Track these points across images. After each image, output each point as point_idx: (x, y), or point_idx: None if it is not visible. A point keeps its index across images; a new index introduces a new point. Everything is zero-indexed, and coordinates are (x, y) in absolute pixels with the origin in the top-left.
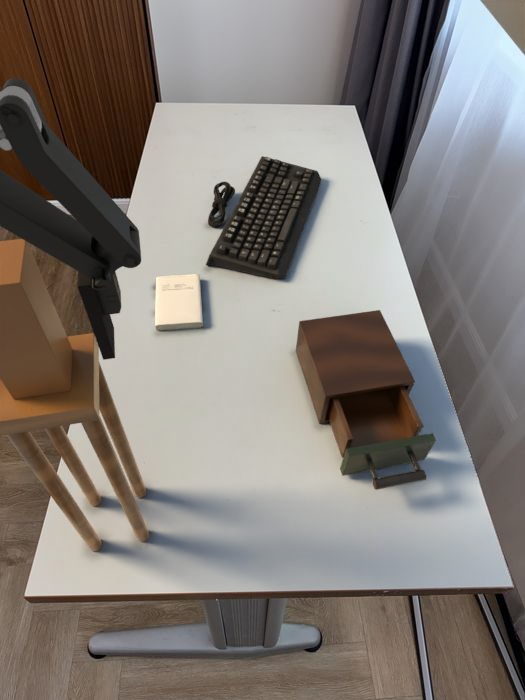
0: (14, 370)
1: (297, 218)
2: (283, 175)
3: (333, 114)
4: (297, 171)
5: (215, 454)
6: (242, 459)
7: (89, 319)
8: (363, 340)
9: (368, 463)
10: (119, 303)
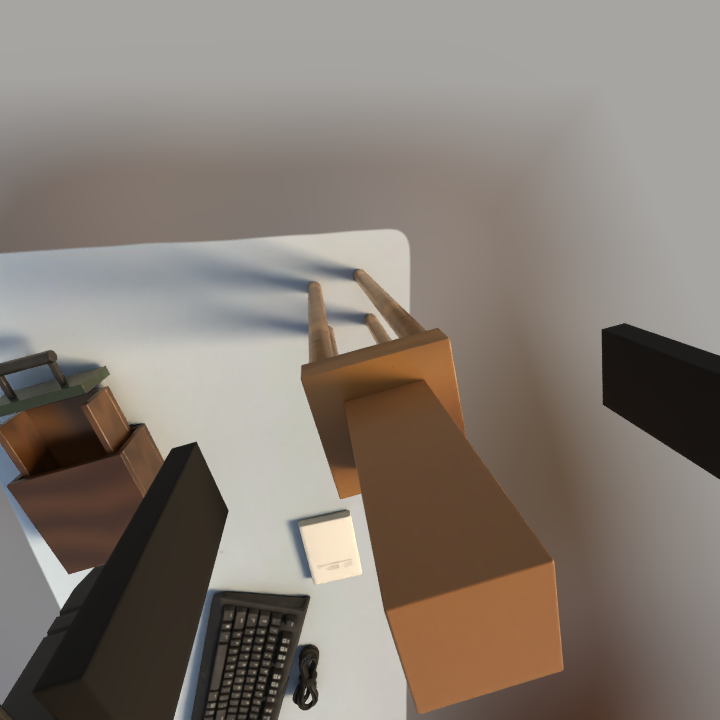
0: (418, 417)
1: (208, 676)
2: None
3: None
4: None
5: (256, 378)
6: (225, 375)
7: (149, 540)
8: (83, 531)
9: (63, 379)
10: (68, 601)
